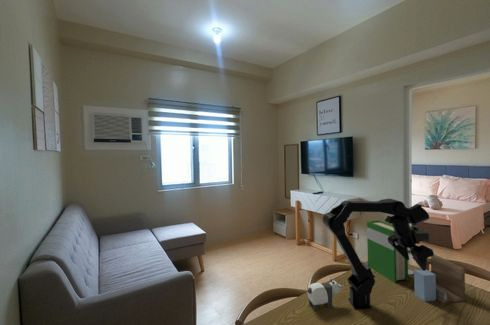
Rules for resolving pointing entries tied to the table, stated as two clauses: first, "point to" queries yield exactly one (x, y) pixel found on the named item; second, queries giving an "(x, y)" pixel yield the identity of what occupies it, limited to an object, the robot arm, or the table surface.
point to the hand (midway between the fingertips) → (415, 264)
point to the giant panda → (322, 293)
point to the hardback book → (385, 252)
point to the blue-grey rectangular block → (425, 285)
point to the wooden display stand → (448, 280)
